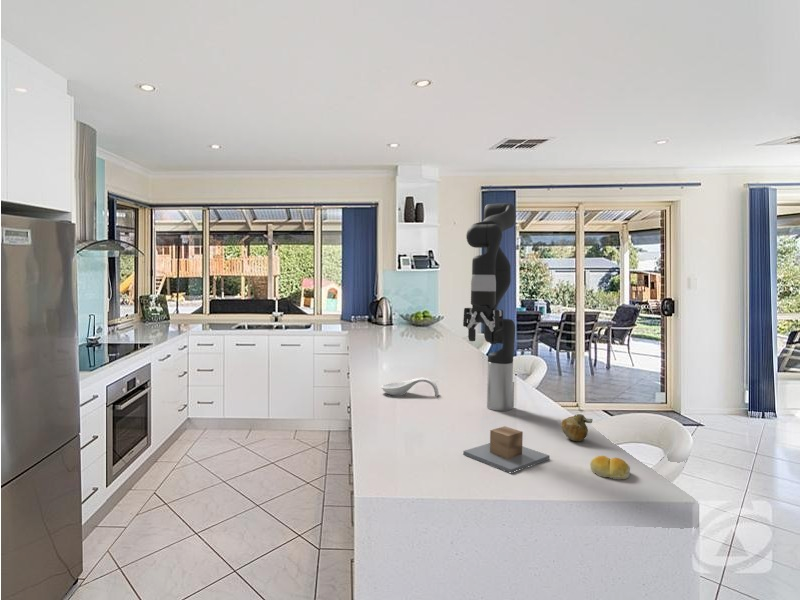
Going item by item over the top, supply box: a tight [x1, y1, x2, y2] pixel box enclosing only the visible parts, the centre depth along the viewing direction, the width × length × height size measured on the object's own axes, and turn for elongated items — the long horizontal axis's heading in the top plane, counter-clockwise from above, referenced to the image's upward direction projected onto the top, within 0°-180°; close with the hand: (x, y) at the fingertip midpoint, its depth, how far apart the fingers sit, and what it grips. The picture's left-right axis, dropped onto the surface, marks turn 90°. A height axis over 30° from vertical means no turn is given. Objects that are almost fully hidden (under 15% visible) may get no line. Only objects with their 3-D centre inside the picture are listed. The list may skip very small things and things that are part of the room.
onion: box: [560, 414, 593, 442], centre depth 143 cm, size 8×8×8 cm
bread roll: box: [589, 455, 631, 480], centre depth 118 cm, size 8×9×4 cm
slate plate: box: [462, 442, 550, 474], centre depth 128 cm, size 16×16×1 cm
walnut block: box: [489, 425, 524, 459], centre depth 128 cm, size 6×6×6 cm
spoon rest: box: [381, 377, 439, 397], centre depth 199 cm, size 24×12×7 cm, turn 83°
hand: (482, 342), depth 148 cm, fingers open, 8 cm apart
